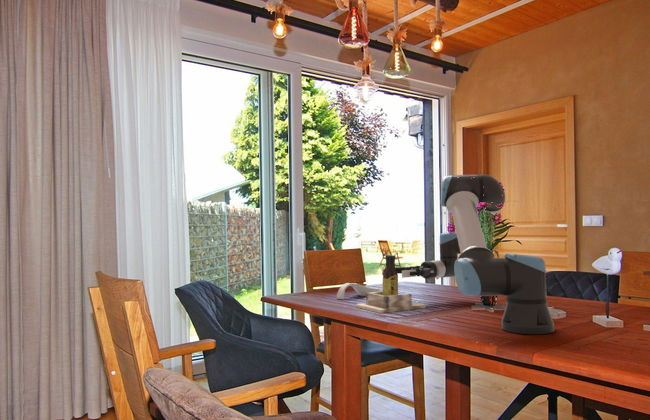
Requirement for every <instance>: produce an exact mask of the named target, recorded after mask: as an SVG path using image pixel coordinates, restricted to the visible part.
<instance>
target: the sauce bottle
mask: <svg viewBox="0 0 650 420" xmlns="http://www.w3.org/2000/svg"><path fill="white" fill-rule="evenodd" d="M384 257H385V258H384V259H385V267H384V268H385V269H384V271H383V275H382V291H383V295H384V296H391V295H399V274H397V271H396V268H395V267H396V255H394V254H391V255H389V254H387V255H385V256H384Z"/></svg>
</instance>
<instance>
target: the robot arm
mask: <svg viewBox="0 0 650 420" xmlns="http://www.w3.org/2000/svg"><path fill="white" fill-rule="evenodd" d="M457 177H459V178H457ZM473 177H475V178H473ZM471 178H472V179H471ZM498 183H500V181H499V180H498V179H496V178H495V177H493V176H492V175H489V174H481V173H480V174H452V175H444V176H443V177H442V180H441V185H440V186H441V187H440V206H441V207H445V208H446V210H447V211H448V212H449V213H450V214H451V215H452V219H453V223H454V228H455V229H454V230H455V232H452V233H453V234H450V233H451V232H442V233H440V235H439V260H429V261H427V260H426V261H423V262H421V264H420V265H415V266H411V265H410V266H395V268H396V271H397V274H398V275H401V278H411V277H412V278H415V277H422V278H423V279H425V280H429V279H430V280H432V279H436V280H439V278H440V279H441V278H455V283H456V286H457V289H458V291H459V292H460V293H461V295H464V296H468V297H470V296H471V297H475V298H476V297H491V296H492V297H493V296H495V297H496V296H497V297H499V296H501V297H504V296H506V305H505V308H504V312H503V315H502V318H501V330H504V331H506V332H510V333H514V334H523V335H524V334H525V335H545V334H547V335H548V334H550V333H551V334H552V333H554V332H555V323H554V320H553V317H552V314H551V313H550V309H549V307H548V302H547V301H548V300H547V299H548V298H547V295H548V294H547V271H546V262H545V260H544V258H542V257H539V256H534V255H525V254H516V253H508V252H507V253H505V254H504V256H503V257H502V258H500V257H499V258H497V257H495V255H494V252H493V251H491V250H490V249H488V248H487V246H486V243H485V239H484V235H483V232H482V228H481V224H480V221H479V217H478V213H477V212H478V209H477V208H478V207H479V205H478V203H480V202H486V203H488V204H489V203H490V204H491V205H490V204H489V206H488V207H486V209H485V211H487V212H488V213H489V212H490V213H491V214H493V215H495V214H496V213H498V214H499V211H500V210H502V209H503V207H504V204H505V202H506V193H505V190H504V191H503V189H504V188H503V185H502V184H501V183H500V184H498ZM483 186H484V188H483ZM483 194H484V196H483ZM501 194H502V195H503V196H502V195H501ZM501 196H502V197H501ZM491 202H493V203H491ZM501 202H502V207H501V208H497V207H496V206H495V205H497V204H500V203H501ZM384 269H385V267H384V268H381V275H382V276H383V271H384Z"/></svg>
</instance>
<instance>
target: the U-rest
mask: <svg viewBox="0 0 650 420" xmlns="http://www.w3.org/2000/svg"><path fill="white" fill-rule="evenodd" d="M412 297H413V296H412V293H402V294H398V295H391V296H384V295H383V290H382V291H378V292H370V293H366V296H365V298H366V299H365V300H366V301H365V302H362V303H356V304H355V307H356V308H358V309H362V310H366V311H371V312H374V313H378V314H386V313H387V314H388V313H394V312H401V311H402V312H403V311H409V310H417V309H425V308H427V305H426V304H425V303H419V302H415V301H412V300H413V298H412Z"/></svg>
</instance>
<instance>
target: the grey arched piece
mask: <svg viewBox="0 0 650 420" xmlns="http://www.w3.org/2000/svg"><path fill="white" fill-rule="evenodd" d="M349 287H352V288H353V289H354V291H355V292H356V293H357V294H358V295H359V296H360V297H366V293H370V292H380V291H379V290H380V287H369V286H365V285H361V284H359V283H355V282H351V283H350V282H346V283H344V284H342V285H341V286H340V287H339V289H338V291H337V293H336V299H337V300H345V292H346V289H348V288H349Z"/></svg>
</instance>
